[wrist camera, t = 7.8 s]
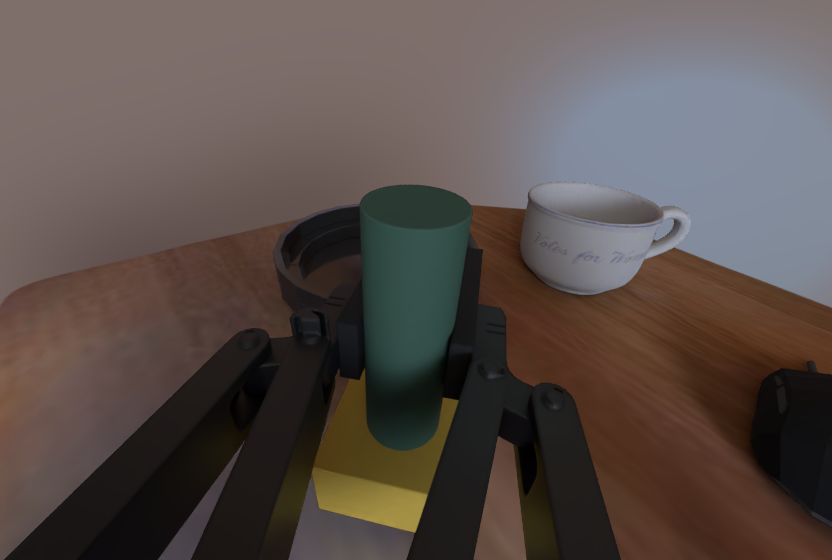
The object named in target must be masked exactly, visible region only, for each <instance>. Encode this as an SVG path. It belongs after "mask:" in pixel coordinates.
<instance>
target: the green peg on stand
mask: <svg viewBox="0 0 832 560" xmlns="http://www.w3.org/2000/svg"><path fill="white" fill-rule="evenodd" d="M472 214H473V211H472V207H471V205H470V204H469V203H468V201H467V200H465V199H464V198H463V197H461V196H459V195H457V194H455V193H452V192H450V191H447V190H444V189H440V188H435V187H430V186H423V185H395V186H388V187H383V188H380V189H376V190H374V191H372V192H370V193H368V194H366V195H365V196H364V197H363V198H362V200H361V202H360V234H361V265H362V296H363V326H364V357H365V368H364V371H363V373H362V376H361V378H360V380H355V379H350V380H349V382H348V384H347V386H346V389H345V391H344V393H343V395H342V398H341V400H340V402H339V404H338V407H337V409H336V411H335V413H334V415H333V418H332V420H331V422H330V424H329V427H328V429H327V431H326V433H325V436H324V438H323V440H322V442H321V445H320V447H319V449H318V452H317V455H316V459H315V463H314V466H313V470H312V477H313V482H314V487H315V491H316V496H317V501H318V506H319V508H320V509H323V510H327V511H331V512H335V513H339V514H343V515H347V516H351V517H355V518H359V519H363V520H367V521H370V522H374V523H378V524H382V525H386V526H390V527H394V528H398V529H402V530H406V531H410V532H414V533H415V532H416V529H417V526H418V523H419V520H420V517H421V514H422V511H423V508H424V505H425V502H426V499H427V496H428V493H429V490H430V486H431V483H432V480H433V477H434V474H435V471H436V468H437V465H438V462H439V459H440V456H441V453H442V450H443V447H444V444H445V441H446V438H447V435H448V432H449V429H450V426H451V422H452V419H453V416H454V413H455V410H456V407H457V404H458V401H459V400H454V399H449V398H444V397H442V394H443V388H444V381H445V375H446V369H447V362H448V356H449V350H450V343H451V337H452V331H453V328H454V325H455V320H456V314H457V307H458V301H459V295H460V289H461V282H462V276H463V270H464V264H465V258H466V251H467V245H468V239H469V233H470V226H471V220H472Z"/></svg>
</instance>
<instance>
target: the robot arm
mask: <svg viewBox="0 0 832 560" xmlns="http://www.w3.org/2000/svg"><path fill="white" fill-rule="evenodd" d="M482 253H483V250H482V249H475V248H469V247H467V251H466V258H465V264H464V270H463V276H462V282H461V289H460V295H459V301H458V307H457V314H456V320H455V325H454V328H453V331H452V337H451V343H450V350H449V356H448V362H447V369H446V375H445V381H444V388H443V394H442V397H444V398H449V399H454V400H459V401H458V404H457V407H456V410H455V413H454V416H453V419H452V422H451V426H450V429H449V432H448V435H447V438H446V441H445V444H444V447H443V450H442V453H441V456H440V459H439V462H438V465H437V468H436V471H435V474H434V477H433V480H432V483H431V486H430V490H429V493H428V496H427V499H426V502H425V505H424V508H423V511H422V514H421V517H420V520H419V523H418V526H417V529H416V532H415V535H414V538H413V541H412V544H411V547H410V550H409V554H408V557H407V560H473V558H474V553H475V548H476V543H477V538H478V533H479V528H480V523H481V518H482V513H483V508H484V503H485V498H486V493H487V488H488V483H489V478H490V473H491V468H492V463H493V458H494V453H495V448H496V443H497V438H498V436H499V437H501V438H503V439H505V440H507V441H508V442H510V443H512V444H514V451H515V460H516V469H517V478H518V487H519V495H520V504H521V513H522V522H523V531H524V540H525V548H526V557H527V560H621V558H620V554H619V551H618V547H617V544H616V541H615V537H614V534H613V530H612V527H611V524H610V520H609V517H608V513H607V510H606V506H605V503H604V500H603V496H602V493H601V489H600V486H599V483H598V479H597V476H596V472H595V469H594V465H593V462H592V459H591V455H590V452H589V448H588V445H587V442H586V438H585V435H584V431H583V428H582V424H581V421H580V418H579V414H578V411H577V407H576V404H575V401H574V399H573V398H572V396H571V395H570V394H569V393H568V392H567V391H566V390H565V389H564V388H562V387H560V386H558V385H556V384H552V383H540V384H538V385H536V386H535V387H533V386H531V385H529V384H526V383H524V382H522V381H521V380H519V379H517V378H516V377H515V376H514V375H513V374H512V373H511V372H510V370H509V368H508V366H507V360H506V316H505V315H504V313H503V311H502V309H501V308H497V307H491V306H485V305H479V304H478V297H479V286H480V275H481V264H482ZM290 322H291V327H292V333H293V336H291V337H283V338H270V337H269V334H268V333H267V332H266V331H265V330H262V329H258V328H251V329H246V330H243V331H241V332H239V333H237V334H236V335H234V336H233V337H232V338H231V339H230V340H229V341H228V342H227V343H226V344H225V345H224V346H223V347H222V348H221V349H220V350H219V351H218V352H217V353H216V354H214V355H213V356H212V357H211V358H210V359H209V360H208V361H207V362H206V363H205V364H204V365H203V366H202V367H201V368H200V369H199V370H198V371H197V372H196V373H195V374H194V375H193V376H192V377H191V378H190V379H189V380H188V381H187V382H186V383H185V384H184V385H183V386H182V387H181V388H180V389H179V390H178V391H176V392H175V393H174V394H173V395H172V396H171V397H170V398H169V399H168V400H167V401H166V402H165V403H164V404H163V405H162V406H161V407H160V408H159V409H158V410H157V411H156V412H155V413H154V414H153V415H152V416H151V417H150V418H149V419H148V420H147V421H146V422H145V423H144V424H143V425H142V426H141V427H140V428H139V429H137V430H136V431H135V432H134V433H133V434H132V435H131V436H130V437H129V438H128V439H127V440H126V441H125V442H124V443H123V444H122V445H121V446H120V447H119V448H118V449H117V450H116V451H115V452H114V453H113V454H112V455H111V456H110V457H109V458H108V459H107V460H106V461H105V462H104V463H103V464H102V465H101V466H99V467H98V468H97V469H96V470H95V471H94V472H93V473H92V474H91V475H90V476H89V477H88V478H87V479H86V480H85V481H84V482H83V483H82V484H81V485H80V486H79V487H78V488H77V489H76V490H75V491H74V492H73V493H72V494H71V495H70V496H69V497H68V498H67V499H66V500H65V501H64V502H63V503H62V504H60V505H59V506H58V507H57V508H56V509H55V510H54V511H53V512H52V513H51V514H50V515H49V516H48V517H47V518H46V519H45V520H44V521H43V522H42V523H41V524H40V525H39V526H38V527H37V528H36V529H35V530H34V531H33V532H32V533H31V534H30V535H29V536H28V537H27V538H26V539H25V540H24V541H22V542H21V543H20V544H19V545H18V546H17V547H16V548H15V549H14V550H13V551H12V552H11V553H10V554H9V555H8V556H7V557H6V558H5V559H4V560H158V558H159V557H160V556H161V554H162V553H163V552H164V550H165V549H166V547H167V546H168V545H169V543H170V542H171V541H172V539H173V538H174V537H175V535H176V534H177V532H178V531H179V530H180V528H181V527H182V526H183V524H184V523H185V521H186V520H187V519H188V517H189V516H190V515H191V513H192V512H193V511H194V509H195V508H196V506H197V505H198V504H199V502H200V501H201V500H202V498H203V497H204V495H205V494H206V493H207V491H208V490H209V489H210V487H211V486H212V485H213V483H214V482H215V480H216V479H217V478H218V476H219V475H220V474H221V472H222V471H223V470H224V468H225V467H226V465H227V464H228V463H229V461H230V460H231V459H232V457H233V456H234V454H235V453H236V452H237V450H238V449H239V448H240V446H241V445H242V444H243V442H244V441H245V442H244V444H243V446H242V449H241V451H240V453H239V455H238V457H237V460H236V462H235V464H234V466H233V468H232V471H231V473H230V475H229V477H228V479H227V481H226V484H225V486H224V488H223V490H222V492H221V495H220V497H219V499H218V501H217V503H216V506H215V508H214V510H213V512H212V514H211V517H210V519H209V521H208V523H207V525H206V528H205V530H204V532H203V534H202V536H201V539H200V541H199V543H198V545H197V547H196V549H195V552H194V554H193V556H192V558H191V560H288V558H289V555H290V551H291V547H292V544H293V540H294V536H295V533H296V529H297V525H298V522H299V518H300V514H301V511H302V507H303V503H304V499H305V496H306V492H307V488H308V485H309V481H310V477H311V474H312V470H313V466H314V463H315V459H316V455H317V452H318V448H319V444H320V441H321V437H322V433H323V430H324V426H325V422H326V418H327V415H328V411H329V407H330V404H331V400H332V396H333V393H334V389H335V375H336V373H337V371H338V369H339V367H340V377H345V378H350V379H355V380H360V378H361V376H362V373H363V371H364V368H365V357H364V326H363V296H362V278H361V280H360V281H359V283H358V285H355V284H349V283H342V284H340V285H338V286H337V287H335V288H334V289H333V291H332V292H331V294H330V295H329V298H327V300H326V301H325V304H323V306H322V307H321V308H316V307H307V308H303V309H300V310H298V311H296V312H295V313H293V315H292V316H291V317H290ZM245 439H246V440H245Z"/></svg>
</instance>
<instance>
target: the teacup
mask: <svg viewBox="0 0 832 560" xmlns="http://www.w3.org/2000/svg"><path fill="white" fill-rule="evenodd" d="M670 218H672V219H674V226H673V228H672V230H671V231H670V232H669V233H668V234H667V235H666V236H665V237H663V238H661V239H660V240H658V241H656V242H653V243H652V241H653V239H654V236H655V234H656V231H657V229H658V226H659V225H660V224H661V223H662V221H664V220H666V219H670ZM690 225H691V221H690V218H689V216H688V214H687V213H686V212H685V211H684V210H682V209H680V208H678V207H675V206H664V207H658V206H657V205H656V204H655V203H653V202H651V201H650V200H647V199H645V198H643V197H641V196H638V195H635V194H632V193H630V192H626V191H623V190H618V189H614V188H610V187H605V186H599V185H592V184H586V183H575V182H555V183H545V184H540V185H537V186H534V187H533V188H532V189H531V190H530V191H529V193H528V205H527V209H526V213H525V218H524V223H523V229H522V234H521V243H520V249H521V254H522V257H523V260H524V262H525V263H526V265H527V266H528V267H529V268H530V269H531V270H532V271H533V272H534V274H535V275H536V276H537V277H538V278H539V279H540V280H541V281H542V282H544V283H545V284H547V285H549V286H551V287H553V288H555V289H558V290H561V291H564V292H568V293H572V294H580V295H593V294H598V293H602V292H605V291H608V290H613V289H616V288H619V287H621V286H623V285H625V284H626V283H627V282H629V281H630V280H631V279H632V278H633V277H634V276H635V274H636V273H637V272H638V270H639V268H640V267H641V265H642V263H643V261H644V259H646V258H650V257H653V256H655V255H658V254H661V253H663V252H666V251H668V250H670V249H672V248H674V247H675V246H677V245H678V244H679V243H681V242H682V241H683V240H684V239H685V237H686V236H687V234H688V232H689V230H690Z"/></svg>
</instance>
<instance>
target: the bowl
mask: <svg viewBox="0 0 832 560" xmlns="http://www.w3.org/2000/svg"><path fill="white" fill-rule="evenodd" d="M467 247H469V248H475V249H479V247H478V246H477V244H476V242H475V240H474V238H473V236H472V234H470V233H469V239H468V245H467ZM273 257H274V262H275V267H276V272H277V277H278V282H279V286H280V290H281V294H282V298H283V300H284V301H285V302H286V303H287V304H288V305H289V306H290V307H291V308H292V309H293V310H294V311H295V312H296V311H298V310H300V309H303V308H307V307H316V308H321V307H322V306H323V304H325V301H326V300H327V298H329V295H330V294H331V292H332V291H333V289H334V288H335V287H337V286H338V285H340V284H342V283H349V284H355V285H358V283H359V281H360V280H361V278H362V265H361V234H360V204H355V205H347V206H339V207H335V208H331V209H328V210H324V211H320V212H316V213H313V214H311V215H309V216H307V217H305V218H303V219H301V220H299V221H297V222H295V223H293V224H292V225H291V226H290V227H289V228H288V229H287V230H285V231H284V232H283V233H282V234H281V235H280V236H279V238H278V240H277V243H276V245H275V248H274V250H273Z"/></svg>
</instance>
